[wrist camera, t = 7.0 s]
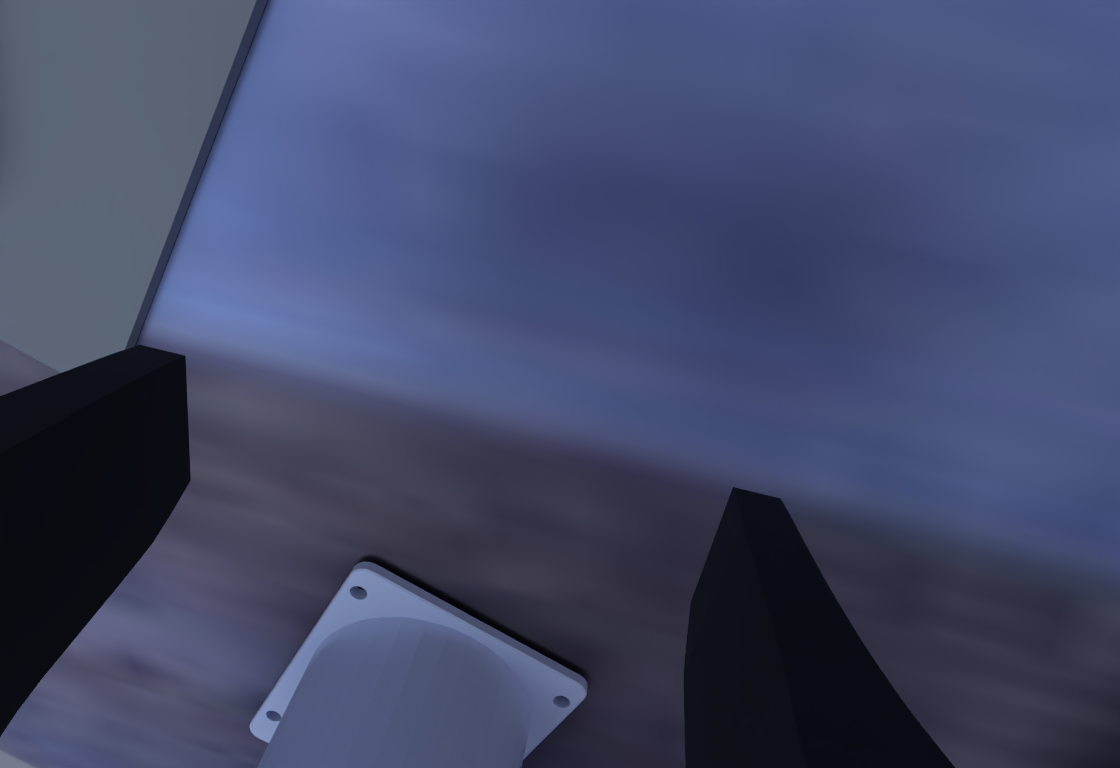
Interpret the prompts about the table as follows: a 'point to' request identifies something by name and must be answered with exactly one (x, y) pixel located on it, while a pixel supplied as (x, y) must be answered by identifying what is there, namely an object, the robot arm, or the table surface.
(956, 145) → the table surface
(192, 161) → the mat
